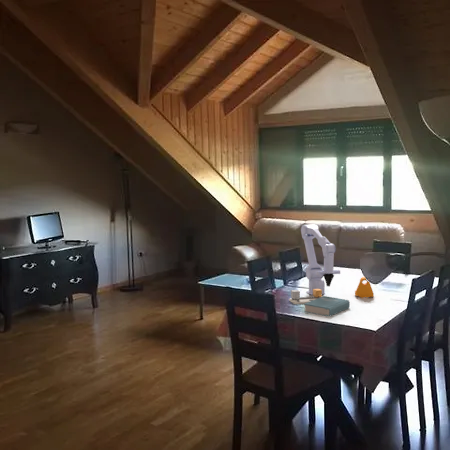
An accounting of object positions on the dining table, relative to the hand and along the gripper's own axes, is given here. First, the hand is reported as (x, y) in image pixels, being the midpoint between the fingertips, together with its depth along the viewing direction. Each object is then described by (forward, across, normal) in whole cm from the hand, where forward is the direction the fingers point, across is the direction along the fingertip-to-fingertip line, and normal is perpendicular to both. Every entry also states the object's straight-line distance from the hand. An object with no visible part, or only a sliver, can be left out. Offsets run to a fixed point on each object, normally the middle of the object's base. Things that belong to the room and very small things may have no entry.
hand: (328, 286), depth 333 cm
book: (+9, -11, -22) cm, 26 cm away
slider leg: (+7, -7, -1) cm, 10 cm away
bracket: (+8, +25, +2) cm, 26 cm away
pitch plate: (+8, -13, -2) cm, 15 cm away
